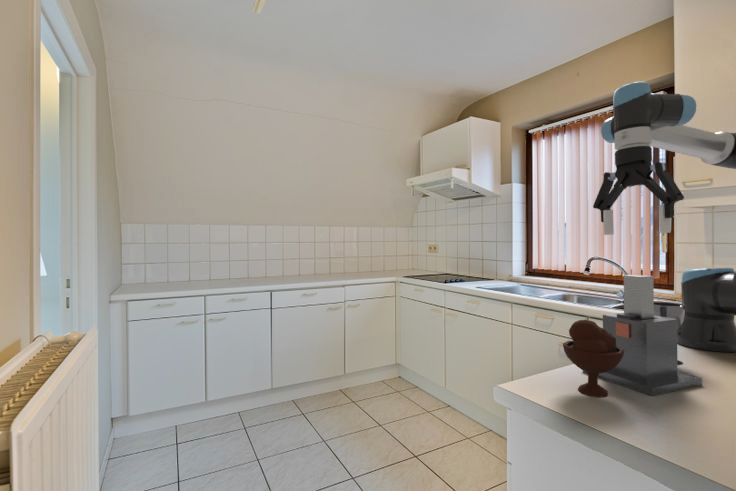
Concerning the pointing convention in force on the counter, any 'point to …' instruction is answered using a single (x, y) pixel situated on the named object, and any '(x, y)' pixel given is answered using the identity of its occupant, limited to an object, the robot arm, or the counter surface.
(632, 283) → the post
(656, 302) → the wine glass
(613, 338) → the ice cream bowl
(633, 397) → the counter surface
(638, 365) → the stand housing
